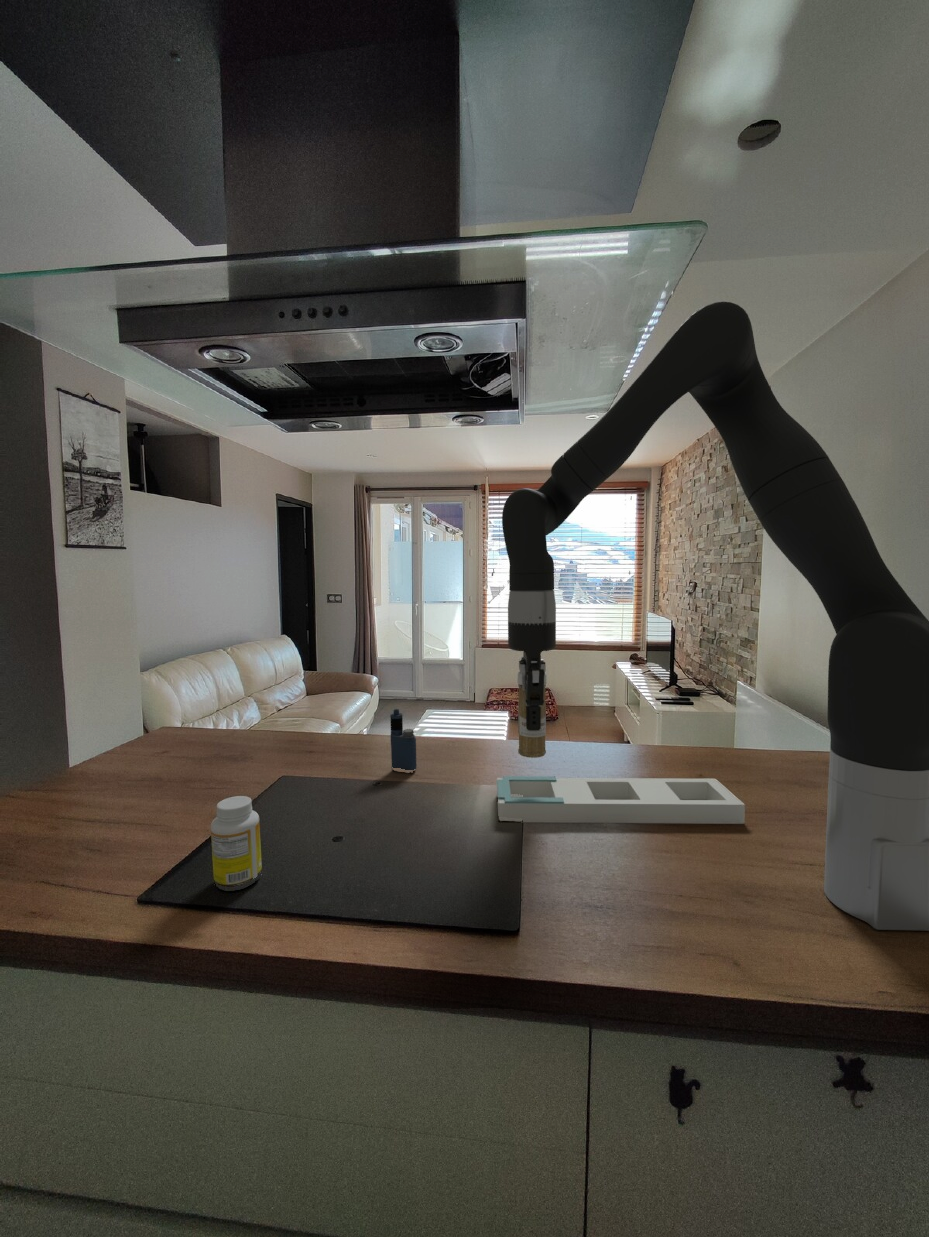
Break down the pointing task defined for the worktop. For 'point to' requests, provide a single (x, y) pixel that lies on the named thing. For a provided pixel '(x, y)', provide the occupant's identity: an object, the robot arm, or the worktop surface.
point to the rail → (644, 802)
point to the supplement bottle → (235, 842)
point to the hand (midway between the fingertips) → (532, 724)
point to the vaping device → (402, 744)
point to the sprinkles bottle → (530, 739)
